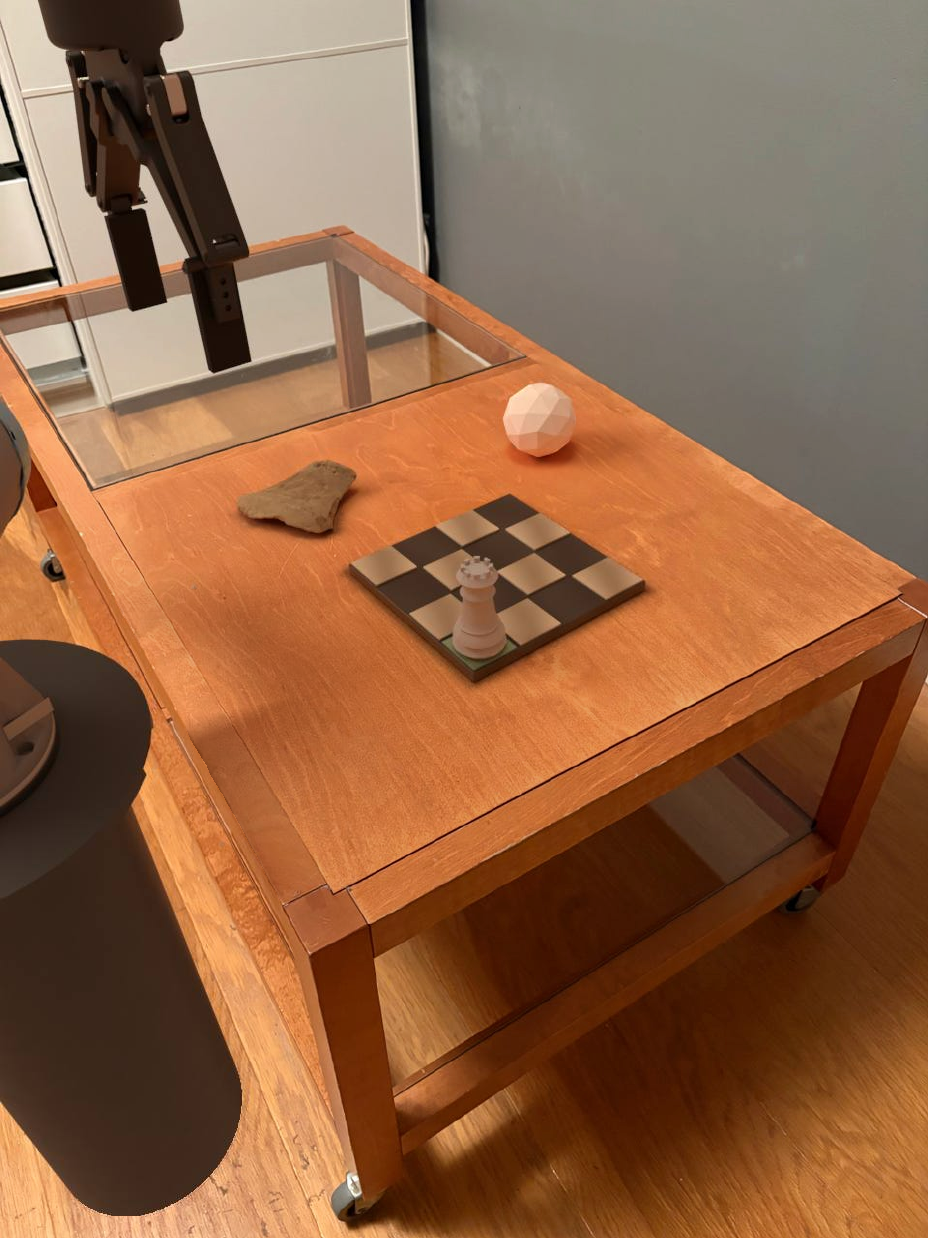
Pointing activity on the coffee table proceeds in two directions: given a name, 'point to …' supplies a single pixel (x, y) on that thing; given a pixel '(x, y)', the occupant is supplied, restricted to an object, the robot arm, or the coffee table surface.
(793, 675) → the coffee table surface
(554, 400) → the geometric ball
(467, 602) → the rook chess piece
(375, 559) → the game board
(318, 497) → the pottery shard
